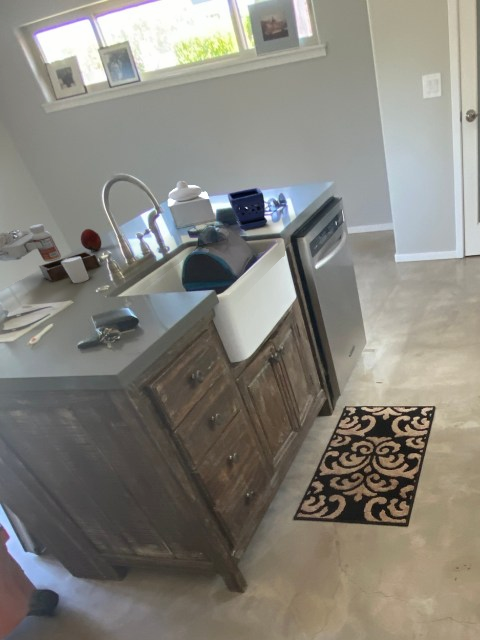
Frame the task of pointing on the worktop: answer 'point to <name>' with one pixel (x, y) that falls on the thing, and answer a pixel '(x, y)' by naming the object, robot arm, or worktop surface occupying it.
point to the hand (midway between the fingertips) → (46, 241)
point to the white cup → (75, 269)
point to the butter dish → (189, 205)
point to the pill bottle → (45, 243)
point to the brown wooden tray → (57, 270)
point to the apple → (90, 240)
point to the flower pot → (248, 208)
